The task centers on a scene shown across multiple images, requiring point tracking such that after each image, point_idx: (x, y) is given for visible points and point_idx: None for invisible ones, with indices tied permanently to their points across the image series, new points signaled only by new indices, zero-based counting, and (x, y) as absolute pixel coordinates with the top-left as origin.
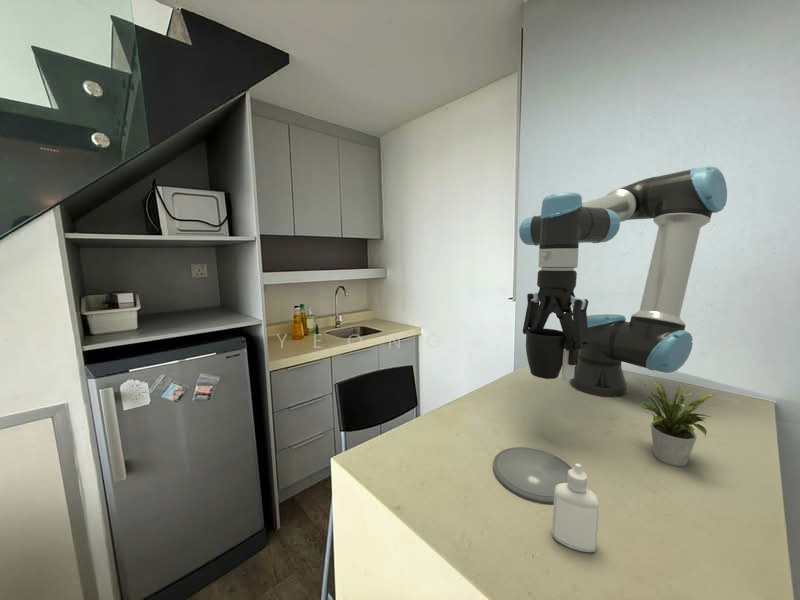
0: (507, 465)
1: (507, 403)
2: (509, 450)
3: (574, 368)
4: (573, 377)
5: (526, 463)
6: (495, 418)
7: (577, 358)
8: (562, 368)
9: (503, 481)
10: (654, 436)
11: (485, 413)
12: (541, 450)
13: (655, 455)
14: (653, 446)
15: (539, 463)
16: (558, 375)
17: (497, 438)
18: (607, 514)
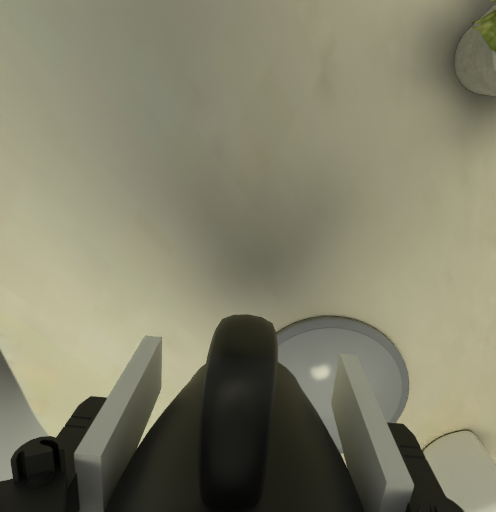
0: None
1: (48, 195)
2: None
3: (370, 386)
4: (357, 360)
5: (306, 390)
6: (116, 297)
7: (423, 462)
8: (342, 443)
9: None
10: (494, 88)
11: (81, 300)
12: (291, 329)
13: (463, 84)
14: (467, 76)
15: (320, 369)
16: (298, 383)
17: (196, 358)
18: (460, 367)
